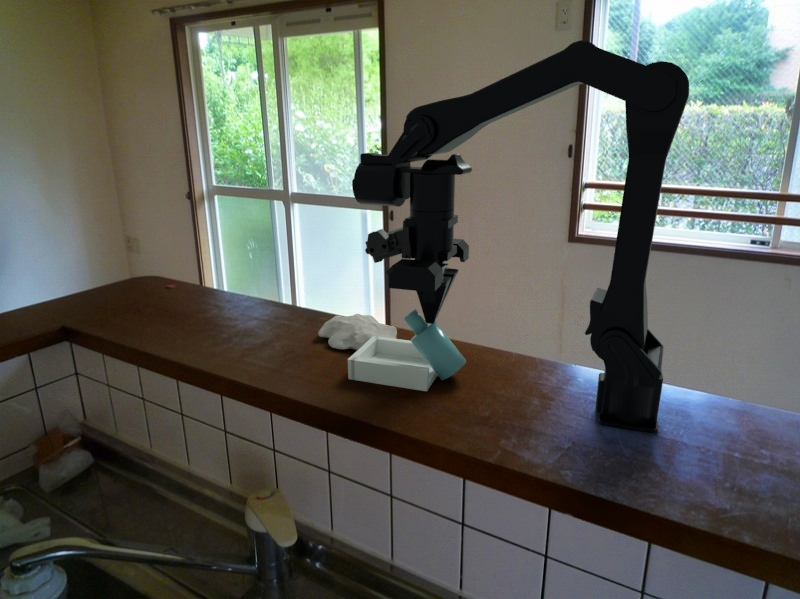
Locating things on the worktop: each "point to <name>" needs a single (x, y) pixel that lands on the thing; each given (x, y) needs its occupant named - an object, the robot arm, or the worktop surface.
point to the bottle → (434, 346)
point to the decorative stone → (354, 331)
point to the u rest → (391, 364)
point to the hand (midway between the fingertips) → (430, 322)
